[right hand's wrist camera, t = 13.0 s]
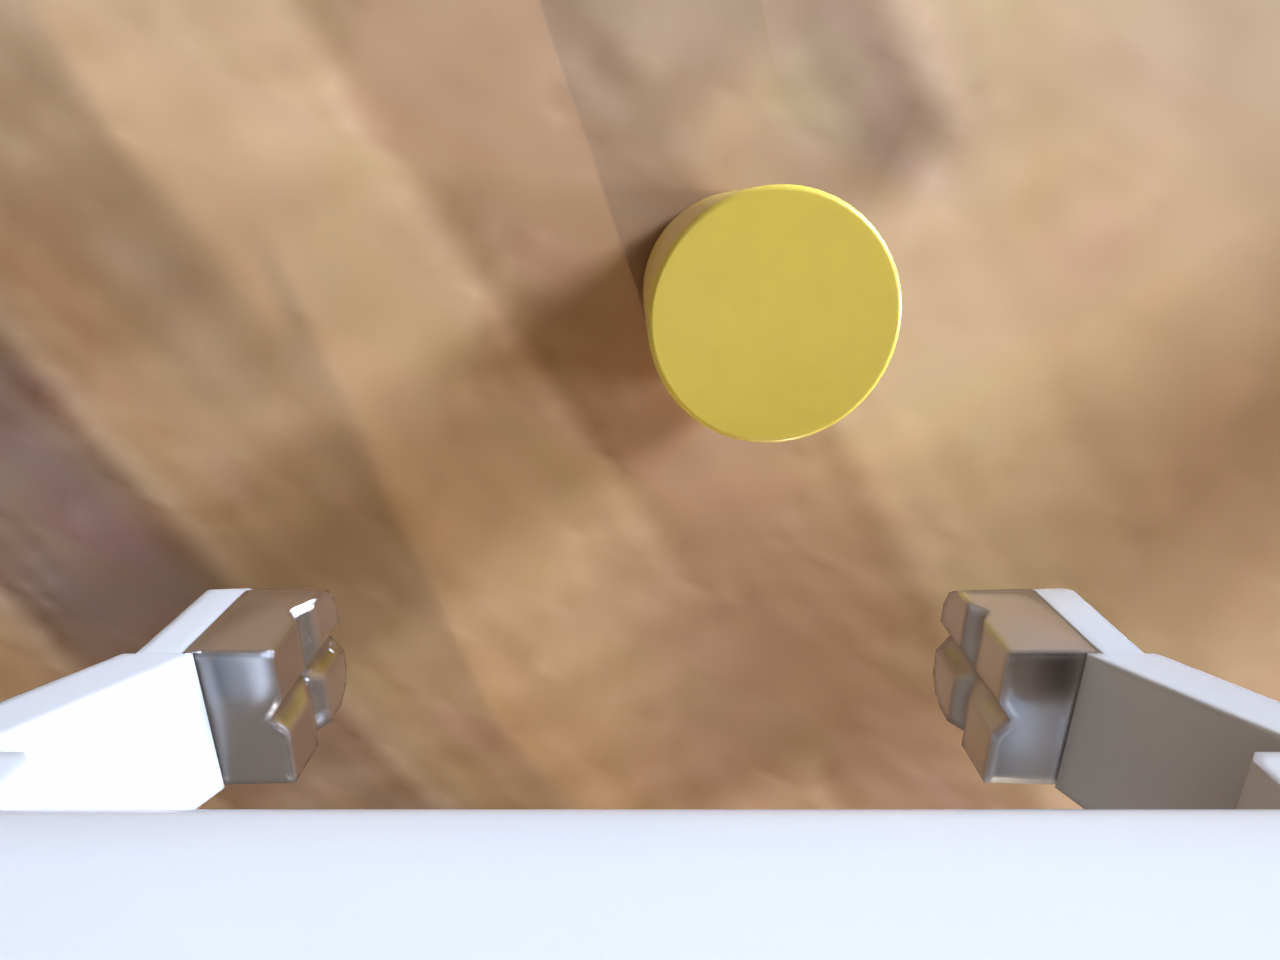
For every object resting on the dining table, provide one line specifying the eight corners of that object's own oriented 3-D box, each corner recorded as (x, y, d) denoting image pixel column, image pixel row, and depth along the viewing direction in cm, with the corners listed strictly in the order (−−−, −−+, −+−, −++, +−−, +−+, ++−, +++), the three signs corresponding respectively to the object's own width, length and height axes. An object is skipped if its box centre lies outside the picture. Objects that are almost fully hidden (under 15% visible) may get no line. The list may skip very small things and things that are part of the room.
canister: (725, 148, 15) (763, 123, 11) (868, 274, 16) (957, 299, 12) (604, 307, 17) (595, 343, 12) (745, 417, 17) (784, 490, 13)
